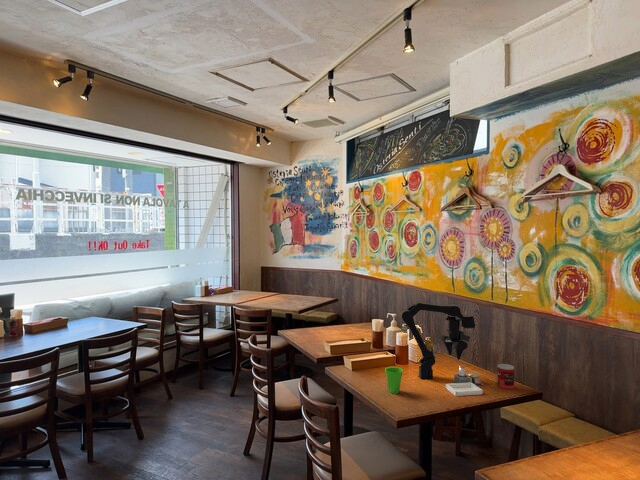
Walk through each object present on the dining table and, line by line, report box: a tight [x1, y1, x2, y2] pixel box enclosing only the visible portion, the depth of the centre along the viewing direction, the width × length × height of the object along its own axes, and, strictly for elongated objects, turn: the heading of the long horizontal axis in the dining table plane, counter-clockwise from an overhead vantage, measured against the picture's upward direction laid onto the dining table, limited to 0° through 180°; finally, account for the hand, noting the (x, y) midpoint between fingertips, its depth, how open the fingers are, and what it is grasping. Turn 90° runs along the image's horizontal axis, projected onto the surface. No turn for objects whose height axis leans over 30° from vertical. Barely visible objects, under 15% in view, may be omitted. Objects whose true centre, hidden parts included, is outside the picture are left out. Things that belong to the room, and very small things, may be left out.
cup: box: [384, 366, 404, 395], centre depth 203 cm, size 9×9×11 cm
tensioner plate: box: [452, 371, 485, 386], centre depth 214 cm, size 13×9×5 cm
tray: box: [445, 382, 484, 397], centre depth 202 cm, size 14×11×2 cm
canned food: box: [496, 363, 515, 391], centre depth 208 cm, size 8×8×11 cm
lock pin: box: [458, 364, 466, 377], centre depth 214 cm, size 3×3×9 cm
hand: (454, 357), depth 220 cm, fingers open, 9 cm apart
